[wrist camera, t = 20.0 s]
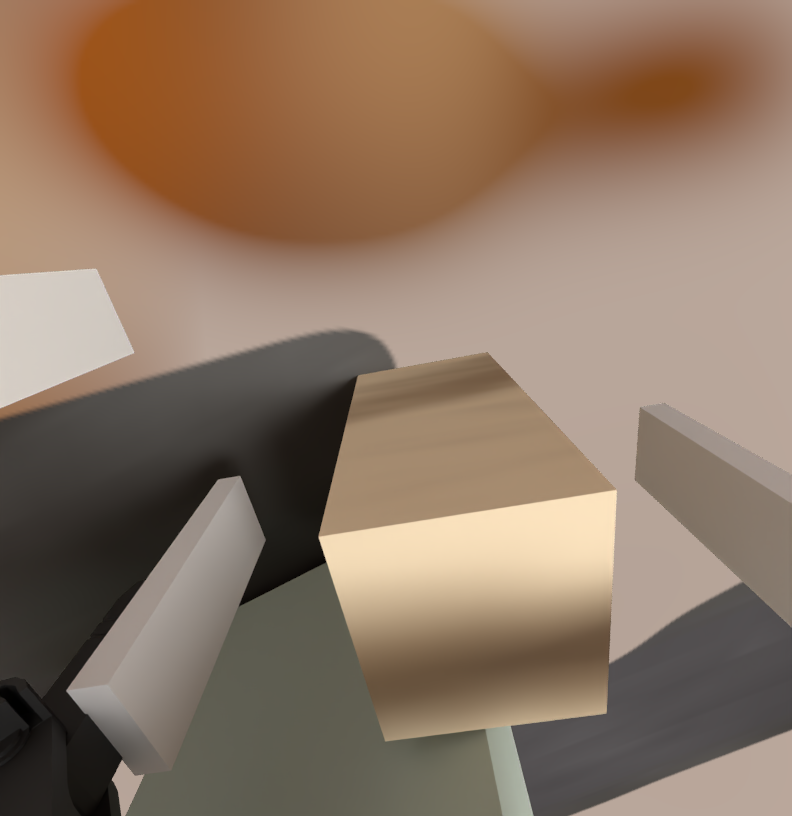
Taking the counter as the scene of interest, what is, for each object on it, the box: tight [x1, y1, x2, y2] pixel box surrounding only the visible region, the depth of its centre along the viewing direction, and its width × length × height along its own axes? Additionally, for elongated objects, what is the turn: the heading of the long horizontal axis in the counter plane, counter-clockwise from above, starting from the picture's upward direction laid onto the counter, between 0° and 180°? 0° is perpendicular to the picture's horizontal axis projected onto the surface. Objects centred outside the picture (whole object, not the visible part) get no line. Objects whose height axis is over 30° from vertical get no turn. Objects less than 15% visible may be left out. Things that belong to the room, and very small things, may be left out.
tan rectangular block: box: [319, 352, 617, 742], centre depth 12 cm, size 6×5×9 cm
